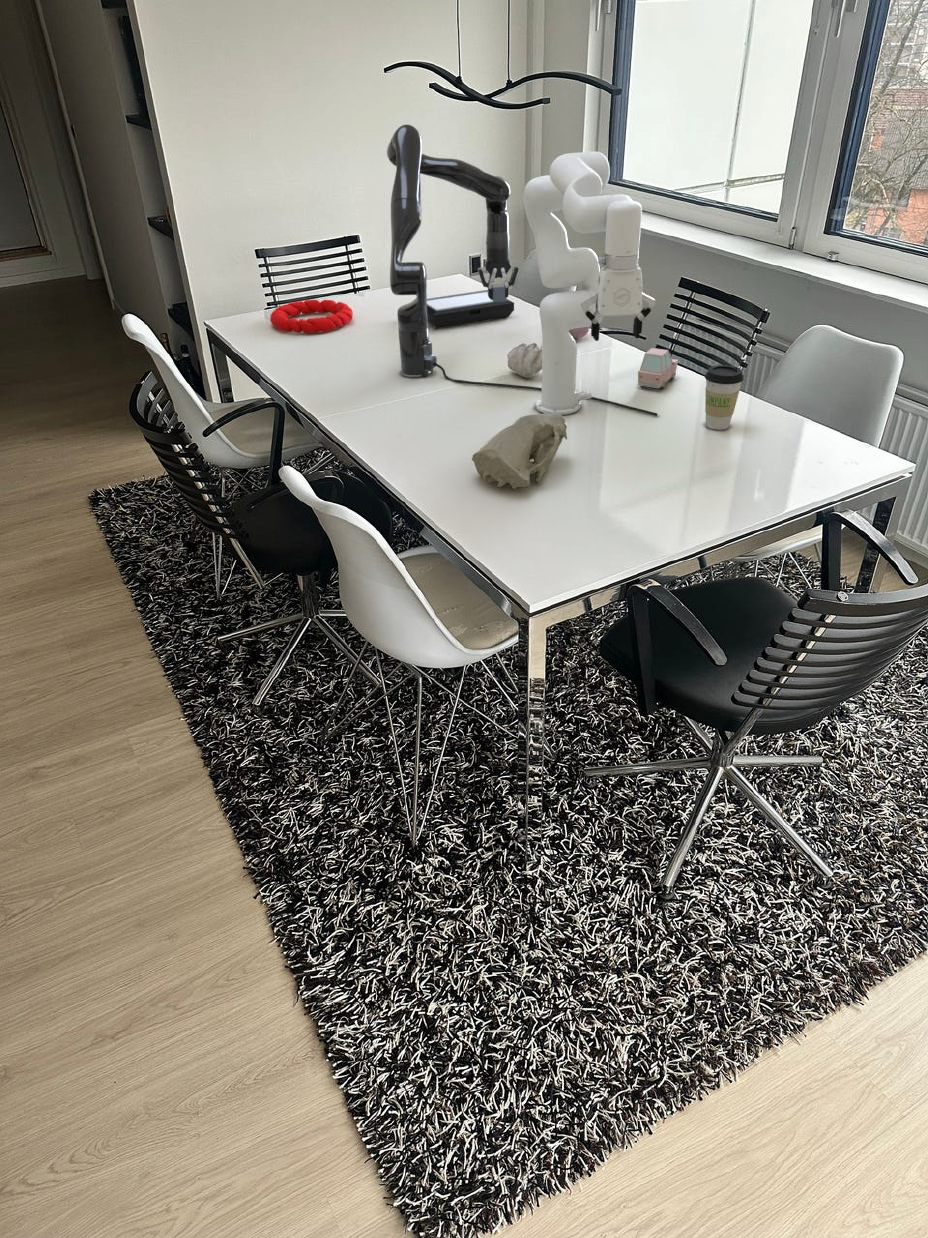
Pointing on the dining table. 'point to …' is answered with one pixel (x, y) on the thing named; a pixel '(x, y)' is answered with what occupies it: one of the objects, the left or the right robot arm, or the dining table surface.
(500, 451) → the animal skull
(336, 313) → the decorative ring
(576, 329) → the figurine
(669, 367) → the toy car
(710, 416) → the coffee cup
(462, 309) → the electronic device
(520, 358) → the seashell
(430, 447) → the dining table surface
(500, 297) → the block
